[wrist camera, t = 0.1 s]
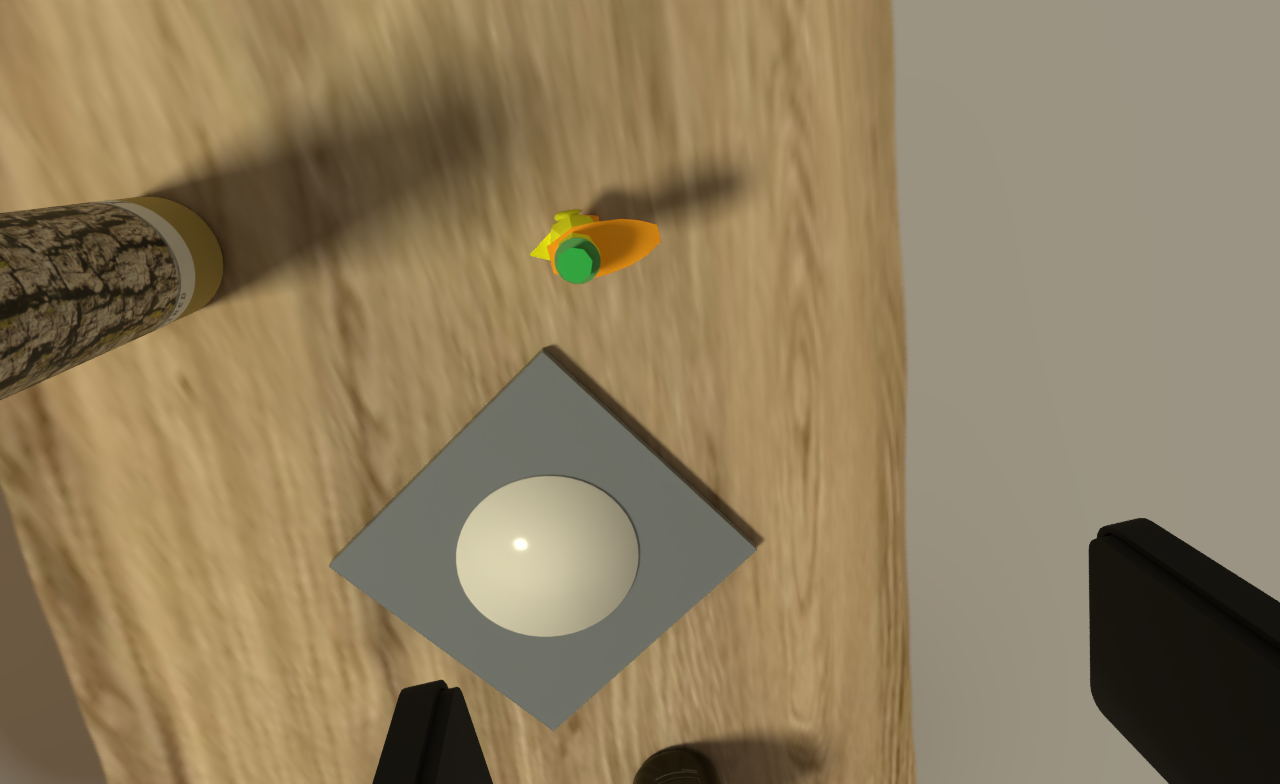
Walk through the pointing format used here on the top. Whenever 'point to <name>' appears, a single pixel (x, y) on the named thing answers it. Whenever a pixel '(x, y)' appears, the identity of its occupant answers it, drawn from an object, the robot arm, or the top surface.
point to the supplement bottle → (677, 769)
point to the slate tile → (544, 545)
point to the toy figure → (595, 245)
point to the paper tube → (96, 281)
